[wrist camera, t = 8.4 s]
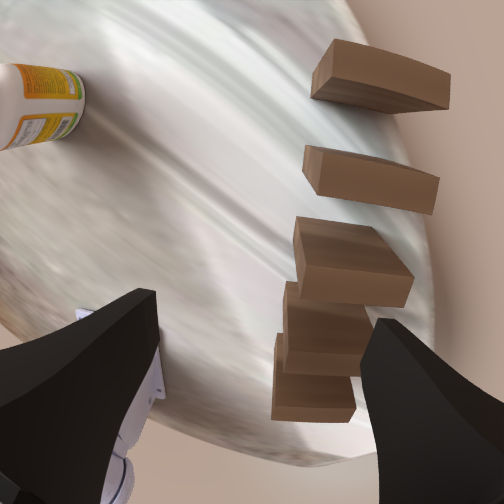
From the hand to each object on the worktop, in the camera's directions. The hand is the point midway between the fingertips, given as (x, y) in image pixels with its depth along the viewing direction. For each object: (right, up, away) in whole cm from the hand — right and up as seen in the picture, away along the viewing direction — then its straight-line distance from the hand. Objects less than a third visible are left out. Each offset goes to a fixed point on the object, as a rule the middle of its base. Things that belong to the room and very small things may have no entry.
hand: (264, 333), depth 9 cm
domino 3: (+5, +4, +9) cm, 11 cm away
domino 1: (+6, +12, +6) cm, 14 cm away
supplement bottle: (-14, +13, +7) cm, 21 cm away
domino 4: (+4, 0, +11) cm, 12 cm away
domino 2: (+5, +8, +8) cm, 12 cm away
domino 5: (+4, -5, +13) cm, 14 cm away
